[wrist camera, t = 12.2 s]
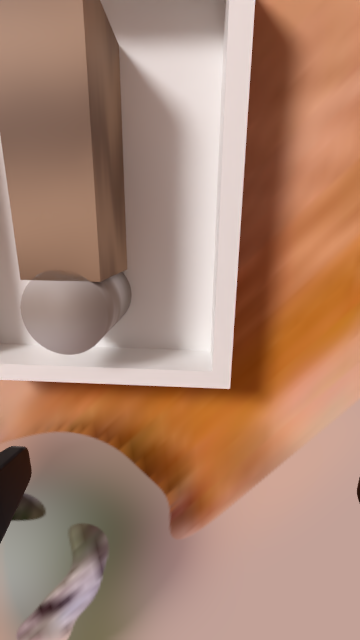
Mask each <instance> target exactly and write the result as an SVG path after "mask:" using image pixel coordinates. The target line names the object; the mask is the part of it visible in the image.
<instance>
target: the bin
mask: <svg viewBox="0 0 360 640" xmlns="http://www.w3.org/2000/svg"><path fill="white" fill-rule="evenodd" d="M100 1H101V4H102V6H103V8H104V11H105V13H106V15H107V18H108V20H109V23H110V25H111V27H112V30H113V32H114V35H115V37H116V39H117V42H118V44H119V59H120V86H121V112H122V139H123V166H124V192H125V219H126V246H127V270H125V271H123V273H124V275H125V276H126V278H127V279H128V281H129V284H130V287H131V303H130V306H129V308H128V310H127V312H126V313H125V314H124V315H123V317H122V318H121V319H120V320H119V321H118V322H117V323H116V324H115V325H114V326H113V327H112V328H111V329H110V330H109V331H108V332H107V333H106V334H105V336H104V337H103V338H102V339H101V340H100V341H99V342H98V343H97V344H96V345H95V346H94V347H92V348H91V349H89V350H88V351H85V352H83V353H80V354H74V355H64V354H59V353H55V352H52V351H50V350H48V349H46V348H44V347H43V346H41V345H40V344H39V343H37V342H36V341H35V340H34V339H33V338H32V336H31V335H30V334H29V332H28V331H27V329H26V327H25V325H24V323H23V320H22V316H21V309H20V305H21V298H22V294H23V291H24V289H25V287H26V286H27V284H28V283H29V282H30V281H31V280H20V273H19V266H18V259H17V251H16V244H15V237H14V230H13V223H12V215H11V208H10V201H9V194H8V187H7V179H6V172H5V165H4V158H3V151H2V144H1V136H0V380H21V381H46V382H71V383H96V384H121V385H146V386H171V387H196V388H221V389H230V382H231V366H232V351H233V336H234V320H235V305H236V289H237V274H238V258H239V243H240V227H241V212H242V197H243V181H244V166H245V150H246V135H247V119H248V104H249V89H250V73H251V58H252V42H253V27H254V11H255V0H100Z"/></svg>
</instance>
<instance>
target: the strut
mask: <svg viewBox="0 0 360 640" xmlns="http://www.w3.org/2000/svg"><path fill="white" fill-rule="evenodd" d="M0 136H1V144H2V151H3V158H4V165H5V172H6V179H7V187H8V194H9V201H10V208H11V215H12V223H13V230H14V237H15V244H16V251H17V259H18V266H19V273H20V280H31V281H30V282H29V283H28V284H27V286H26V287H25V289H24V291H23V294H22V298H21V305H20V309H21V316H22V320H23V323H24V325H25V327H26V329H27V331H28V332H29V334H30V335H31V336H32V338H33V339H34V340H35V341H36V342H37V343H39V344H40V345H41V346H43V347H44V348H46V349H48V350H50V351H52V352H55V353H59V354H64V355H74V354H80V353H83V352H85V351H88V350H89V349H91V348H92V347H94V346H95V345H96V344H97V343H98V342H99V341H100V340H101V339H102V338H103V337H104V336H105V334H106V333H107V332H108V331H109V330H110V329H111V328H112V327H113V326H114V325H115V324H116V323H117V322H118V321H119V320H120V319H121V318H122V317H123V315H124V314H125V313H126V312H127V310H128V308H129V306H130V303H131V287H130V284H129V281H128V279H127V278H126V276H125V275H124V273H123V271H125V270H127V246H126V219H125V192H124V166H123V139H122V112H121V86H120V59H119V44H118V42H117V39H116V37H115V35H114V32H113V30H112V27H111V25H110V23H109V20H108V18H107V15H106V13H105V11H104V8H103V6H102V4H101V1H100V0H0Z"/></svg>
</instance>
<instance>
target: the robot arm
mask: <svg viewBox="0 0 360 640" xmlns="http://www.w3.org/2000/svg"><path fill="white" fill-rule="evenodd" d="M30 478H31V464H30V458H29V452H28V450H27V448H26V447H21V446H11V447H9V448H7V449H5V450H4V451H2V452H0V543H1V541H2V539H3V537H4V535H5V533H6V531H7V528H8V526H9V524H10V522H11V520H12V518H13V516H14V513H15V511H16V509H17V507H18V505H19V503H20V500H21V498H22V496H23V494H24V492H25V490H26V487H27V485H28V483H29V481H30ZM357 495H358V499H359V502H360V478H359V483H358V488H357Z"/></svg>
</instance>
